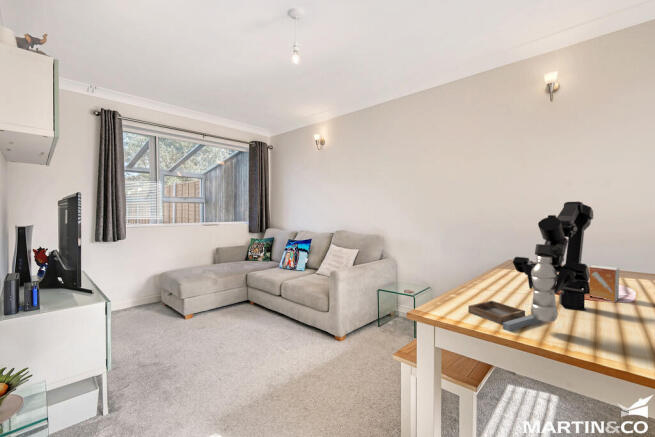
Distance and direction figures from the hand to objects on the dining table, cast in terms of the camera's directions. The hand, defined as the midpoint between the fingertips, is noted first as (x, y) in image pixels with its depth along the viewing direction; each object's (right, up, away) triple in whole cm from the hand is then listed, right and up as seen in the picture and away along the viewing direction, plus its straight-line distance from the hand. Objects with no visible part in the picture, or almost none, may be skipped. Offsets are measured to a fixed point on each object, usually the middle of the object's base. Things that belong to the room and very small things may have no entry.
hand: (542, 290), depth 87 cm
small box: (+49, -11, +31) cm, 59 cm away
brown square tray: (-5, -13, +15) cm, 21 cm away
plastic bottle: (+1, -10, +1) cm, 10 cm away
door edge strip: (-1, -13, +7) cm, 15 cm away
